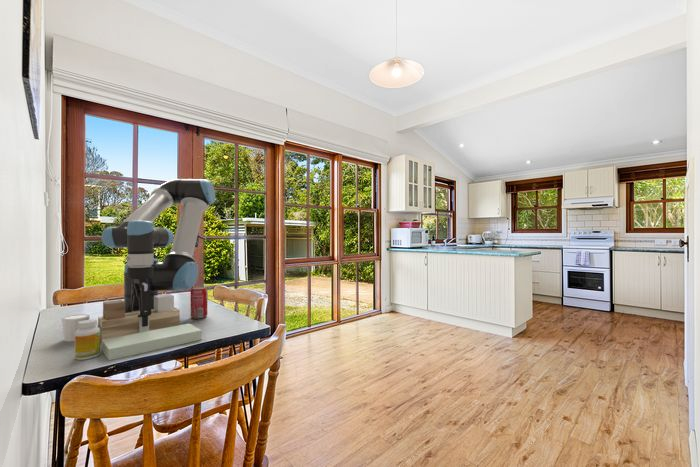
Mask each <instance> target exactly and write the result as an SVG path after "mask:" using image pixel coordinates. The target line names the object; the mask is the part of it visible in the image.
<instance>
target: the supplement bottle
mask: <svg viewBox="0 0 700 467" xmlns="http://www.w3.org/2000/svg"><path fill="white" fill-rule="evenodd" d="M78 328H79V330H77V331H76V332H75V341H74V359H75V360H78V361H80V360H81V361H83V360H89V359H93V358H96V357H98V356H100V354H101V342H100V329H99V328H98V319H89V320H84V321H80V322H78Z"/></svg>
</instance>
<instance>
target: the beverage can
mask: <svg viewBox="0 0 700 467" xmlns="http://www.w3.org/2000/svg"><path fill="white" fill-rule="evenodd" d="M208 292H209V291H208V289H207V287H206V286H196V287H192V288H191V290H190V318H192V319H195V320H199V319H204V318H206V317H207V316H208V302H209V301H208V294H209V293H208Z"/></svg>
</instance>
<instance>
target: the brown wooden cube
mask: <svg viewBox="0 0 700 467" xmlns="http://www.w3.org/2000/svg"><path fill="white" fill-rule="evenodd" d="M102 316H103V318H104V319H105V320H110V319H117V318H124V317H125V301H124V299H116V300H107V301H103V302H102Z"/></svg>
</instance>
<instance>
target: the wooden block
mask: <svg viewBox="0 0 700 467" xmlns="http://www.w3.org/2000/svg"><path fill="white" fill-rule="evenodd" d="M145 312H147V311H145ZM151 312H152V313H151V315H149V331H151V330H157V329H162V328H167V327H173V326H178V325H181V322H180V321H181V320H180V318H181V317H180V316H181V315H180V313H181V311H180V309H179V308H176V307H175V306H174V310H170V311H163V312H157V311H155V310H154V309H151ZM138 315H140V311H137V312H130V313H125V317H124V318H117V319H110V320H105V319H104V318H103V315H102V316H97V327H98V328H99V329H100V344H102V340H103V339H108V338H114V337H119V336H124V335H130V334H135V333H139V317H138Z"/></svg>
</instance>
